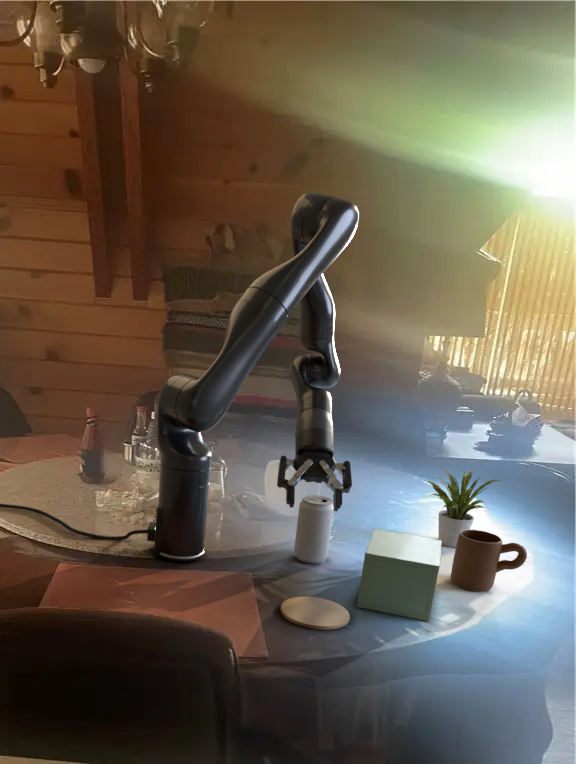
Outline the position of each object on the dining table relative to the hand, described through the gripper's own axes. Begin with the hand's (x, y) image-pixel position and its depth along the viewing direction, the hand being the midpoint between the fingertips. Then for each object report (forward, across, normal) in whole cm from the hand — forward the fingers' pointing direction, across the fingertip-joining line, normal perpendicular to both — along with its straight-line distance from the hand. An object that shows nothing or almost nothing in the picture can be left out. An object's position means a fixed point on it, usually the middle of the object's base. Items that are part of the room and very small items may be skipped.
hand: (314, 507), depth 145 cm
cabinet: (+20, +13, -7) cm, 25 cm away
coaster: (+26, -2, -13) cm, 29 cm away
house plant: (-3, +33, +17) cm, 37 cm away
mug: (+14, +31, 0) cm, 34 cm away
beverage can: (+9, 0, +5) cm, 10 cm away
